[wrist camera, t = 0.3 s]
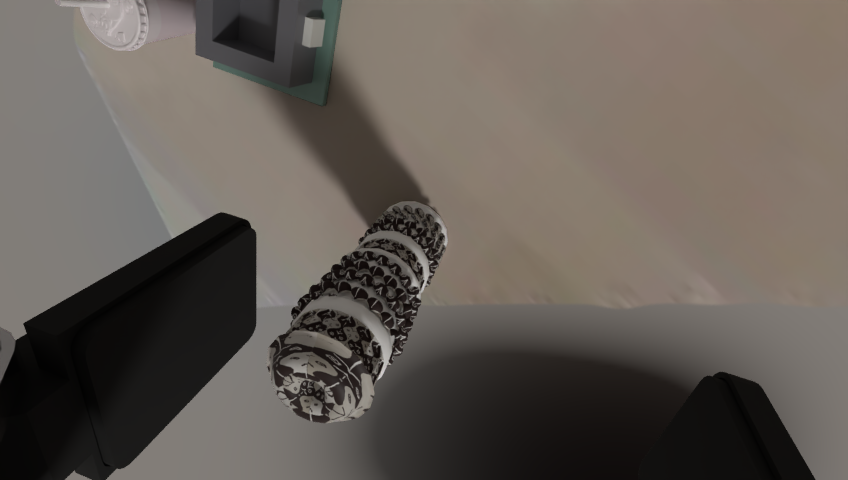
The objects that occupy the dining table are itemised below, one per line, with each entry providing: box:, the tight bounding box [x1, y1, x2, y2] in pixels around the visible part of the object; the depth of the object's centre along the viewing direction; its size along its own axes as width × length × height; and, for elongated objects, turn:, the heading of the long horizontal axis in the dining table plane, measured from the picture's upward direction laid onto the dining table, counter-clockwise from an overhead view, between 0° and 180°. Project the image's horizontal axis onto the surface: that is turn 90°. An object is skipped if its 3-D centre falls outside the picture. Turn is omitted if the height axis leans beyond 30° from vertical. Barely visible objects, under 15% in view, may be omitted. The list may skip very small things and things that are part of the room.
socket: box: [196, 0, 325, 88], centre depth 40 cm, size 10×11×4 cm
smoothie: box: [55, 0, 196, 51], centre depth 39 cm, size 6×6×14 cm
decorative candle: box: [266, 201, 448, 423], centre depth 39 cm, size 9×9×25 cm
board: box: [213, 0, 342, 106], centre depth 42 cm, size 14×13×2 cm
